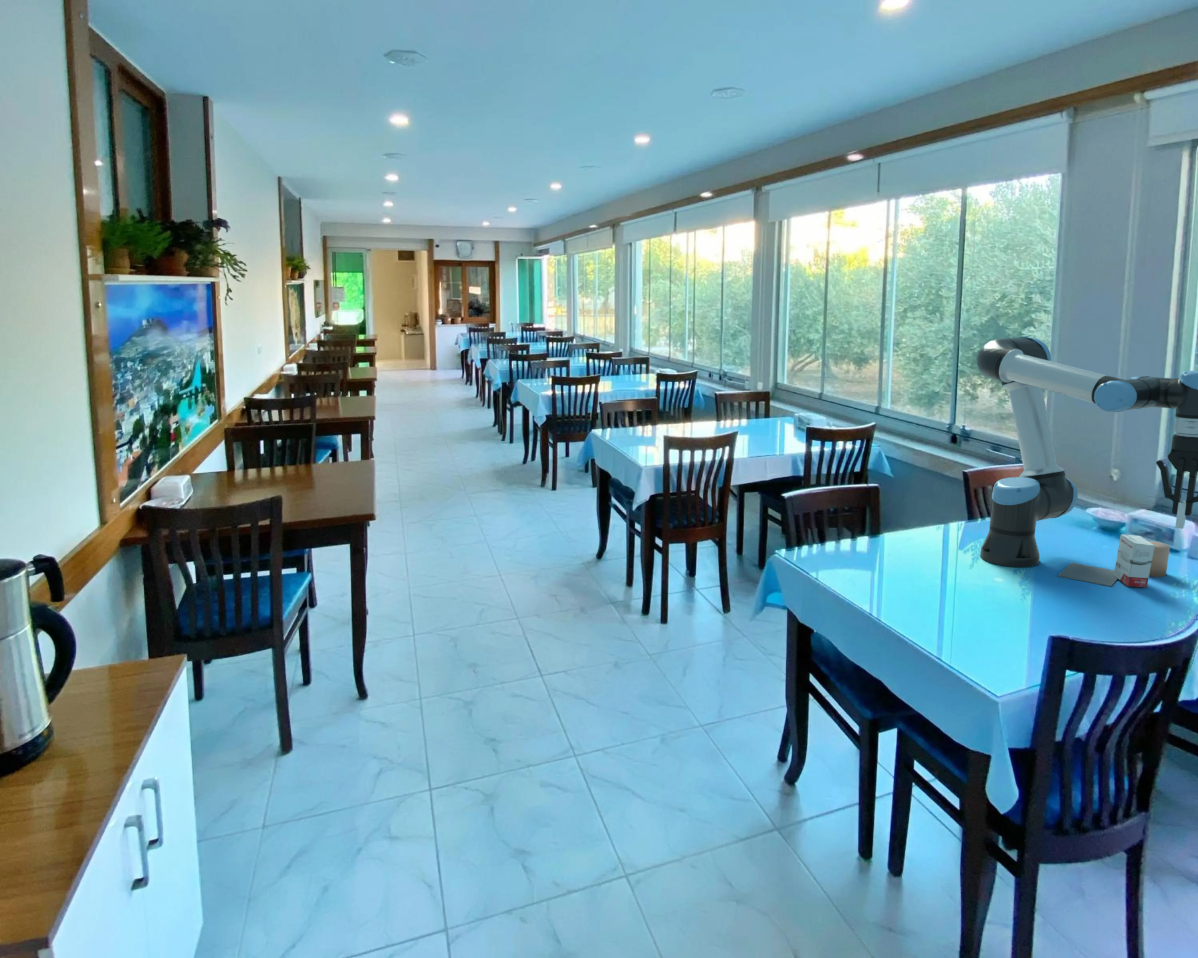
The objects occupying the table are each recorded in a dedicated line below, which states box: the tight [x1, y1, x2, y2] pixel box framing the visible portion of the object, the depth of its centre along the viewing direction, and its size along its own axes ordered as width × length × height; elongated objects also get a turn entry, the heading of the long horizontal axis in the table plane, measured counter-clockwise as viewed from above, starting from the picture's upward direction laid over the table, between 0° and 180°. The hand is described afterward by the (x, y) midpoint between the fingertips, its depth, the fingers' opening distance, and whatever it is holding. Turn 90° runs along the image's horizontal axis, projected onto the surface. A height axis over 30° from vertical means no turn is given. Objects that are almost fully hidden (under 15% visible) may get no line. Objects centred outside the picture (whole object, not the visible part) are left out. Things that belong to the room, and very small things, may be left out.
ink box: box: [1113, 533, 1155, 589], centre depth 201 cm, size 9×5×12 cm, turn 168°
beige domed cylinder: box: [1147, 540, 1171, 578], centre depth 209 cm, size 7×7×8 cm
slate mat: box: [1057, 562, 1119, 588], centre depth 209 cm, size 12×14×1 cm
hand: (1179, 527), depth 193 cm, fingers closed
